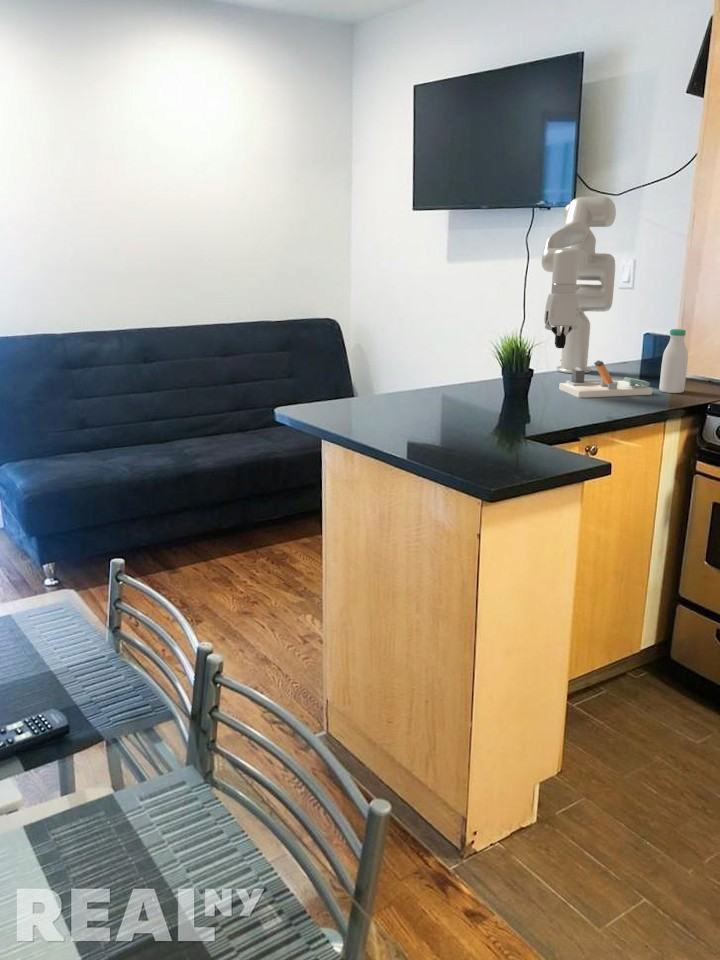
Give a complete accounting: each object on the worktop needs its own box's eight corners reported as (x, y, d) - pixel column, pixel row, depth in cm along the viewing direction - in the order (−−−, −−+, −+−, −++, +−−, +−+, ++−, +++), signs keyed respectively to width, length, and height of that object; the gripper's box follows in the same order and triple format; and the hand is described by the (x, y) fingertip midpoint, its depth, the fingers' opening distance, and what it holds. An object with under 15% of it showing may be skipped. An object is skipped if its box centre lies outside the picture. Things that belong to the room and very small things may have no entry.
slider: (571, 383, 269) (572, 367, 268) (579, 382, 270) (580, 367, 268) (575, 384, 266) (576, 369, 265) (583, 384, 267) (585, 368, 265)
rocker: (622, 380, 264) (623, 376, 264) (641, 384, 266) (642, 380, 265) (630, 383, 259) (632, 379, 258) (650, 387, 260) (651, 383, 260)
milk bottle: (687, 393, 262) (694, 330, 256) (663, 393, 262) (670, 331, 256) (679, 389, 269) (685, 328, 263) (655, 389, 269) (661, 328, 264)
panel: (559, 389, 271) (559, 377, 270) (628, 386, 275) (629, 374, 274) (578, 397, 257) (579, 385, 255) (651, 394, 261) (652, 382, 260)
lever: (604, 384, 263) (593, 362, 260) (608, 381, 263) (597, 360, 260) (610, 386, 260) (599, 364, 257) (614, 384, 260) (603, 361, 257)
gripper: (580, 288, 263) (576, 345, 268) (536, 289, 260) (533, 346, 265) (591, 290, 256) (586, 348, 261) (546, 290, 253) (542, 349, 258)
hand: (559, 347), depth 263 cm, fingers closed
